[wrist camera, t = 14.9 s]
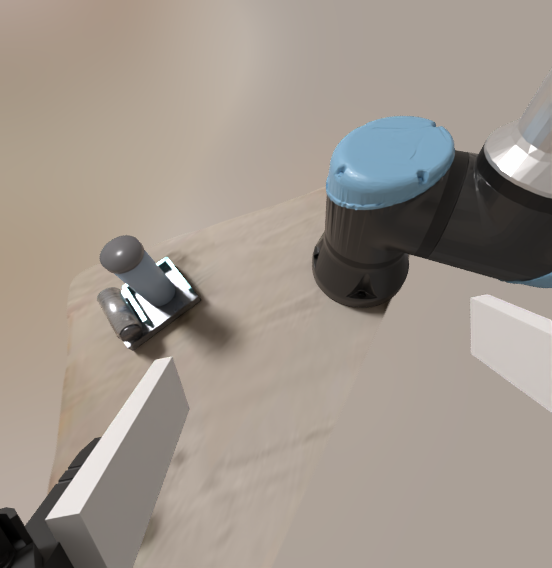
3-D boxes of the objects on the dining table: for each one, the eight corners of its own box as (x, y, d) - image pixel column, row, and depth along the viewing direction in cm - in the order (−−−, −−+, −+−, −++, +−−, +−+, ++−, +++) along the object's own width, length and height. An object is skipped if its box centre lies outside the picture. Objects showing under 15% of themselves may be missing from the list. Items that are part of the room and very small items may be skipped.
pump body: (166, 272, 50) (128, 228, 40) (182, 293, 48) (147, 252, 37) (139, 292, 49) (93, 252, 38) (154, 313, 47) (110, 277, 36)
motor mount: (172, 263, 53) (159, 247, 49) (201, 300, 49) (190, 285, 44) (108, 307, 50) (88, 294, 46) (132, 350, 46) (113, 340, 41)
